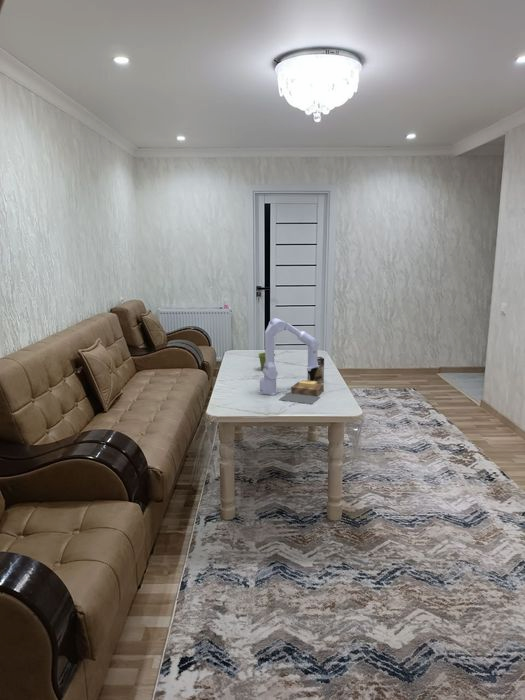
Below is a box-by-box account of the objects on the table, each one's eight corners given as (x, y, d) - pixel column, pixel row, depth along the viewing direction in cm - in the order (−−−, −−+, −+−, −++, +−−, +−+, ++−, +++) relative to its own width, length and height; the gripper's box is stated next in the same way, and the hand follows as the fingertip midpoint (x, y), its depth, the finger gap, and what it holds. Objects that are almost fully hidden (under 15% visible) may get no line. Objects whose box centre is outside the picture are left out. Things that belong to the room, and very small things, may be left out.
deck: (291, 393, 299) (291, 387, 298) (298, 388, 310) (298, 381, 309) (317, 396, 293) (317, 390, 292) (323, 390, 303) (323, 384, 303)
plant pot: (269, 373, 344) (269, 357, 342) (255, 371, 351) (254, 355, 349) (278, 369, 354) (278, 353, 352) (264, 367, 361) (264, 351, 358)
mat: (278, 400, 288) (278, 399, 288) (287, 393, 300) (287, 392, 300) (312, 404, 280) (312, 403, 279) (320, 397, 291) (320, 396, 291)
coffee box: (310, 384, 317) (310, 359, 313) (307, 381, 323) (307, 357, 319) (324, 383, 319) (324, 358, 315) (321, 380, 325) (321, 356, 321)
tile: (299, 385, 300) (299, 382, 300) (302, 383, 306) (302, 380, 305) (313, 387, 297) (313, 384, 296) (316, 384, 302) (317, 381, 302)
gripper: (315, 361, 297) (315, 383, 300) (322, 355, 310) (322, 377, 313) (303, 360, 300) (303, 382, 303) (311, 354, 313) (311, 376, 316)
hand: (312, 379), depth 308 cm, fingers closed
